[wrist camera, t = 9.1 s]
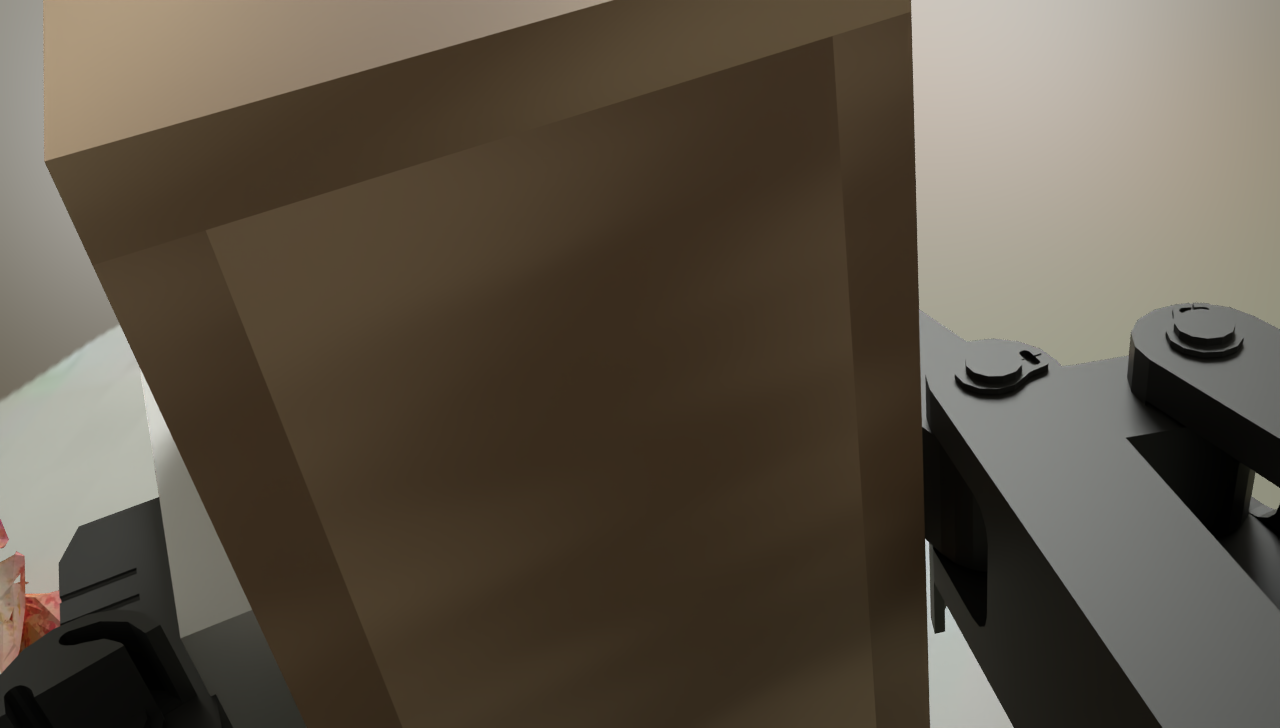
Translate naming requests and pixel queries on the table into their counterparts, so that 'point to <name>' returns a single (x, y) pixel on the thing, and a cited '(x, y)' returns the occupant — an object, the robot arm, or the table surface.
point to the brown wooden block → (528, 342)
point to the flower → (22, 609)
